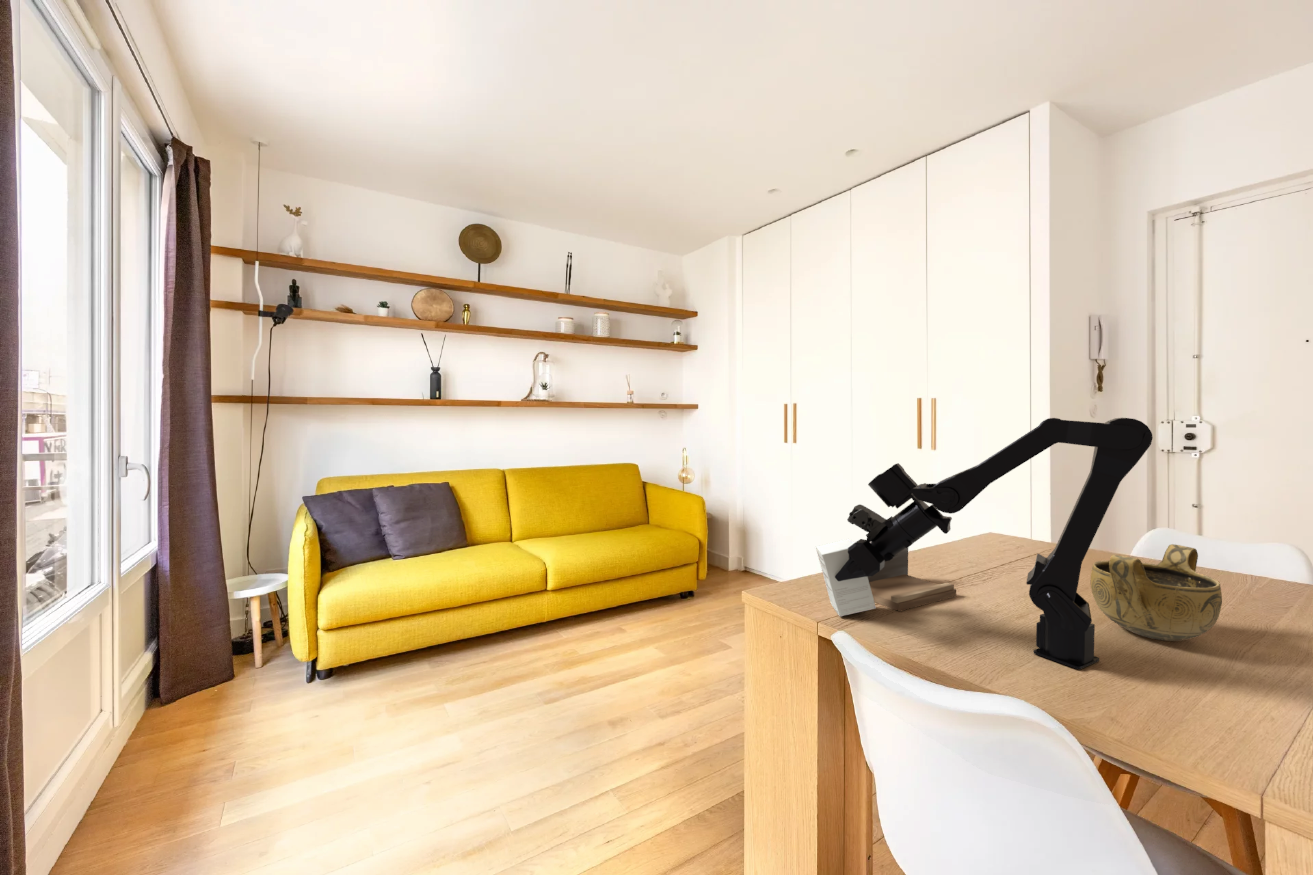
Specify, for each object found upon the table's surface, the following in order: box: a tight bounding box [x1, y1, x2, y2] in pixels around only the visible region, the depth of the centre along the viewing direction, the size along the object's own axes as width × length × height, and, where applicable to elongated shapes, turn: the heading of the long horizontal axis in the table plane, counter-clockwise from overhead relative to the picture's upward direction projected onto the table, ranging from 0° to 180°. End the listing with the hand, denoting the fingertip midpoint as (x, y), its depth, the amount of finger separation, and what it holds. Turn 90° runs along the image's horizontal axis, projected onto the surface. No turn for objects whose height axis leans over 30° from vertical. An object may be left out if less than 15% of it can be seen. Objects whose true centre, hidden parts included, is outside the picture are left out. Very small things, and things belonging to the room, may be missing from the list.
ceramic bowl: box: [1090, 543, 1223, 642], centre depth 93 cm, size 22×17×15 cm
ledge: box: [867, 547, 957, 612], centre depth 115 cm, size 14×20×10 cm
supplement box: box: [815, 538, 877, 617], centre depth 104 cm, size 7×7×13 cm
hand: (844, 573), depth 105 cm, fingers closed on supplement box, 9 cm apart
